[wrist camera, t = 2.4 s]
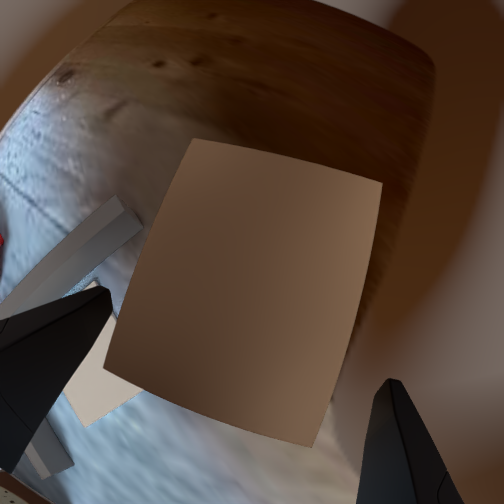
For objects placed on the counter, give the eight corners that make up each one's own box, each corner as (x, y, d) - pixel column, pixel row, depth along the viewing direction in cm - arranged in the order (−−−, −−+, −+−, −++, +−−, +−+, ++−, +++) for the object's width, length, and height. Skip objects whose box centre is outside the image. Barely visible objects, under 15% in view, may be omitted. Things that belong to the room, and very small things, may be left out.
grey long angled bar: (238, 365, 17) (230, 370, 14) (64, 469, 15) (42, 479, 12) (134, 212, 20) (115, 194, 18) (0, 337, 19) (-24, 334, 16)
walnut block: (313, 291, 18) (382, 183, 5) (288, 371, 17) (311, 447, 4) (249, 272, 19) (192, 137, 6) (223, 350, 17) (102, 368, 5)
